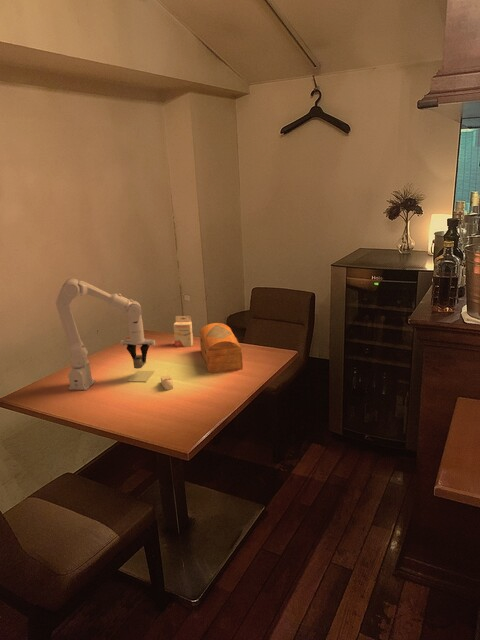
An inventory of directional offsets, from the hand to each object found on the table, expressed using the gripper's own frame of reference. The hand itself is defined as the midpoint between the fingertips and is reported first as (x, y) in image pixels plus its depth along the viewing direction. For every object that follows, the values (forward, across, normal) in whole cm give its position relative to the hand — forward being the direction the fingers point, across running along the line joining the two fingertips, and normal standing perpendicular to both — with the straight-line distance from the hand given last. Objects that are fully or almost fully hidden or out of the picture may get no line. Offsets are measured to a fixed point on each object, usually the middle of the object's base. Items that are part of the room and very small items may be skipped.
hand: (139, 361), depth 198 cm
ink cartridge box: (+7, -8, -41) cm, 42 cm away
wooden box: (+8, -31, -21) cm, 38 cm away
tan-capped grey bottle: (+2, 0, 0) cm, 2 cm away
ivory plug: (+7, -14, +9) cm, 18 cm away
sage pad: (+7, 0, 0) cm, 7 cm away
